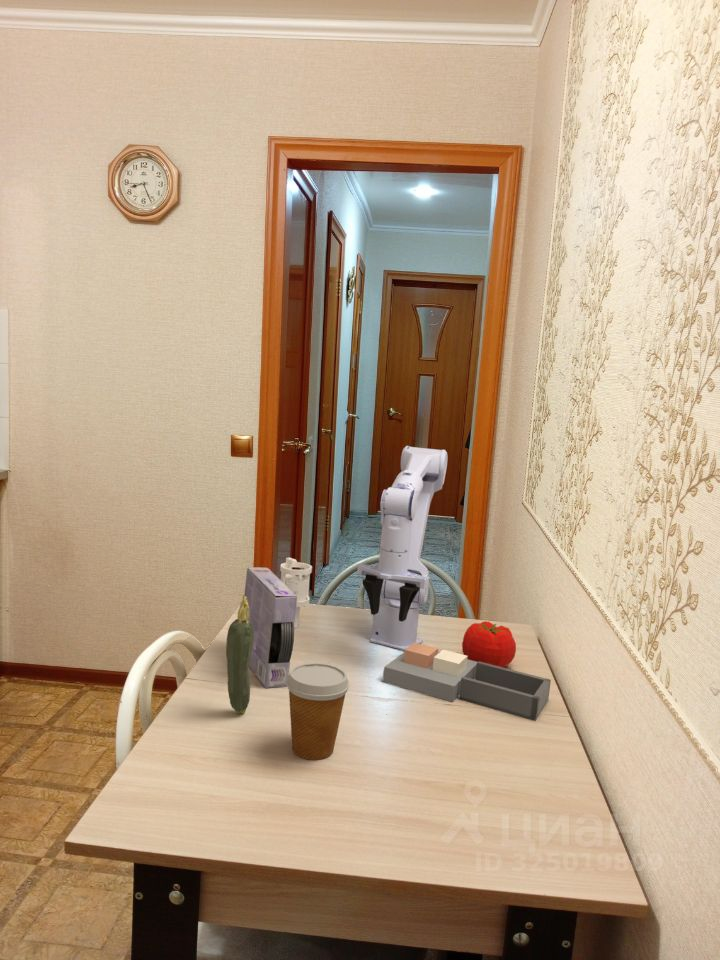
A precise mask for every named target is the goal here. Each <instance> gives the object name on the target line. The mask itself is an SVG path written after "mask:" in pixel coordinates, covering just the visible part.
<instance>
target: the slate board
mask: <svg viewBox="0 0 720 960" xmlns="http://www.w3.org/2000/svg"><path fill="white" fill-rule="evenodd" d="M440 652H441V651H438V653H440ZM476 665H477V662H476V661H472V660H468V659H467V667H466V669H465V670H464V671H463V672H462V673H461V674H460V675H459V676H458V677H457V676H453V675H449V674H446V673H442V672H438V671H435V670H433V664H432V665H431V666H430V667H429V668H428V669H427V668H424V667H420V666H416V665H412V664H409V663H405V662H404V652H402V653H400V655H398V656H397V657H396V658H394V659H393V660H392V661H390V662H389V663H388V664H386V665H384V666H383V667H384V669H383V677H382V683H385V684H388V683H389V684H388V685H392V686H397V687H398V688H402V689H405V690H410V691H413V692H417V693H420V694H424V695H428V696H430V697H433V698H437V699H441V700H445V701H448V702H451V703H453V702H455V701H456V699H457V698H458V697H459V695H460V686H461V678H462V677H463V676H464V677H467V678H471V679H475V675H476Z"/></svg>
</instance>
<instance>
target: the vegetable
mask: <svg viewBox="0 0 720 960" xmlns="http://www.w3.org/2000/svg"><path fill="white" fill-rule="evenodd" d="M237 610H238V611H237V619H235V620H233V621H232V622H231V624H230V625H229V627H228V630H227V635H226V644H225V646H226V647H225V652H226V653H225V654H226V666H227V691H228V692H227V693H228V698H229V704H230V706H231V707H232V709H234V711H235V713H237V714H241V713H246V711H247V709H248V706H249V703H250V699H251V698H250V695H251V683H250V682H251V681H250V667H249V663H250V657H251V652H252V647H253V642H254V629H253V626H252V624H251V623H250V622H249V621H248V620H247V619H249V617H250V611H249V605H248V600H247V597H246V596H244V594H242V600H241V601H240V604H239V608H238V609H237Z"/></svg>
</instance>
